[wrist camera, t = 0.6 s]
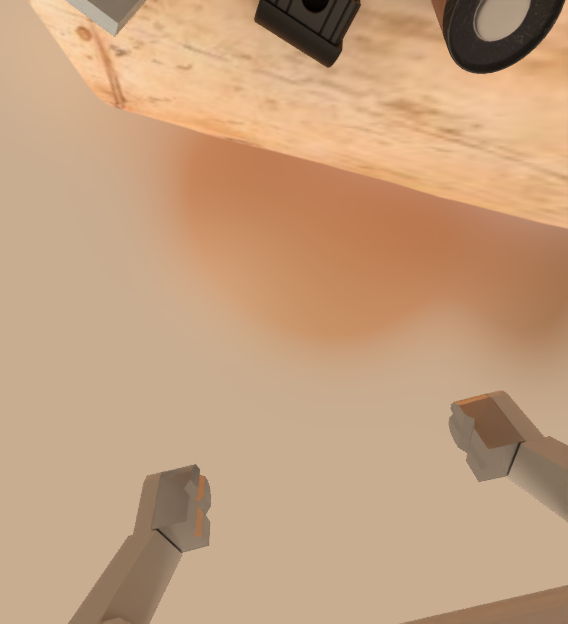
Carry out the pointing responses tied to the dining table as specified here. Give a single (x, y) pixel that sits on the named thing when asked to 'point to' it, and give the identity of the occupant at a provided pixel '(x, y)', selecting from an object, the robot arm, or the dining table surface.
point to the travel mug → (494, 30)
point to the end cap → (309, 24)
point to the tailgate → (108, 12)
